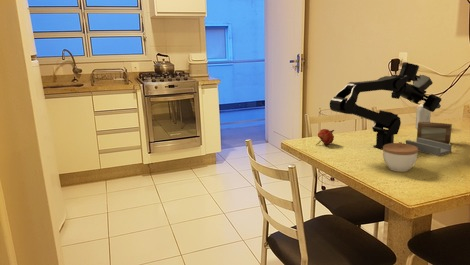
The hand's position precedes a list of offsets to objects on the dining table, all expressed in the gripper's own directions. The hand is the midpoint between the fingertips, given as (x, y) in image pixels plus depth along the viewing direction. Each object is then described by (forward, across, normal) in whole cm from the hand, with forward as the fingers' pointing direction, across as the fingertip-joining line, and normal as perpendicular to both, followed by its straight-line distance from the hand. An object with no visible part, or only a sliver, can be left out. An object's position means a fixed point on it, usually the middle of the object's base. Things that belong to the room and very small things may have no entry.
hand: (431, 102), depth 148 cm
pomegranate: (-32, +8, +35) cm, 48 cm away
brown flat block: (+4, -8, +14) cm, 17 cm away
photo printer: (+19, +12, +12) cm, 26 cm away
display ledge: (-7, -16, +17) cm, 24 cm away
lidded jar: (-30, -28, +24) cm, 48 cm away
